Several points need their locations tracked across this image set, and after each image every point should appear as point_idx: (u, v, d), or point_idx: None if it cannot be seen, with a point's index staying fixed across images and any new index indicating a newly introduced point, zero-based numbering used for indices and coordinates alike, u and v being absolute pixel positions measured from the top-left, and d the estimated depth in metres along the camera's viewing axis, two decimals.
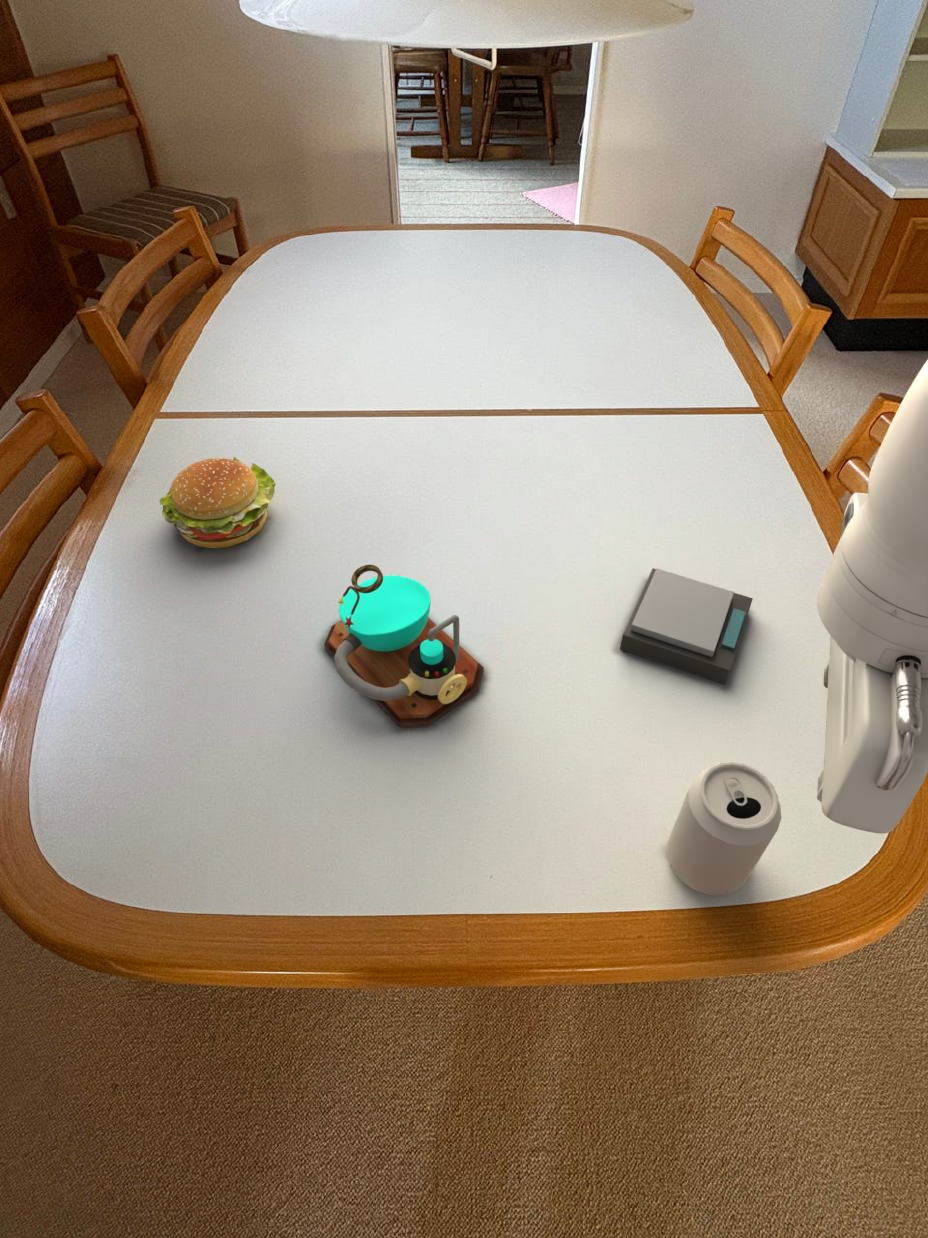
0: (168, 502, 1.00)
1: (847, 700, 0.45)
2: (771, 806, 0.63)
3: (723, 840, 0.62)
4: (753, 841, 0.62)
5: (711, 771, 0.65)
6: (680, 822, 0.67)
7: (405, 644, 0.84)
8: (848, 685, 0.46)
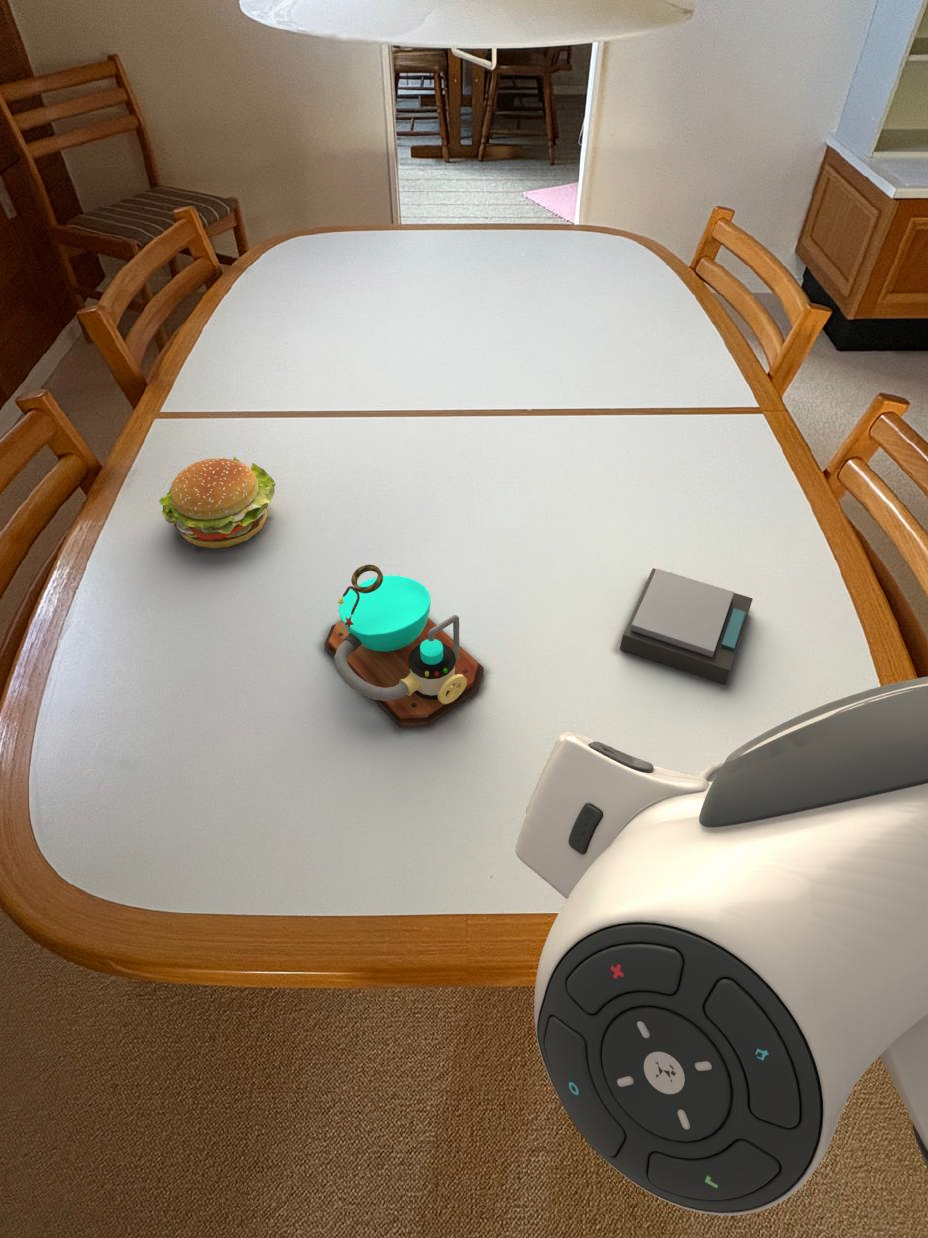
0: (168, 502, 1.00)
1: None
2: None
3: None
4: None
5: (711, 771, 0.65)
6: None
7: (405, 644, 0.84)
8: None
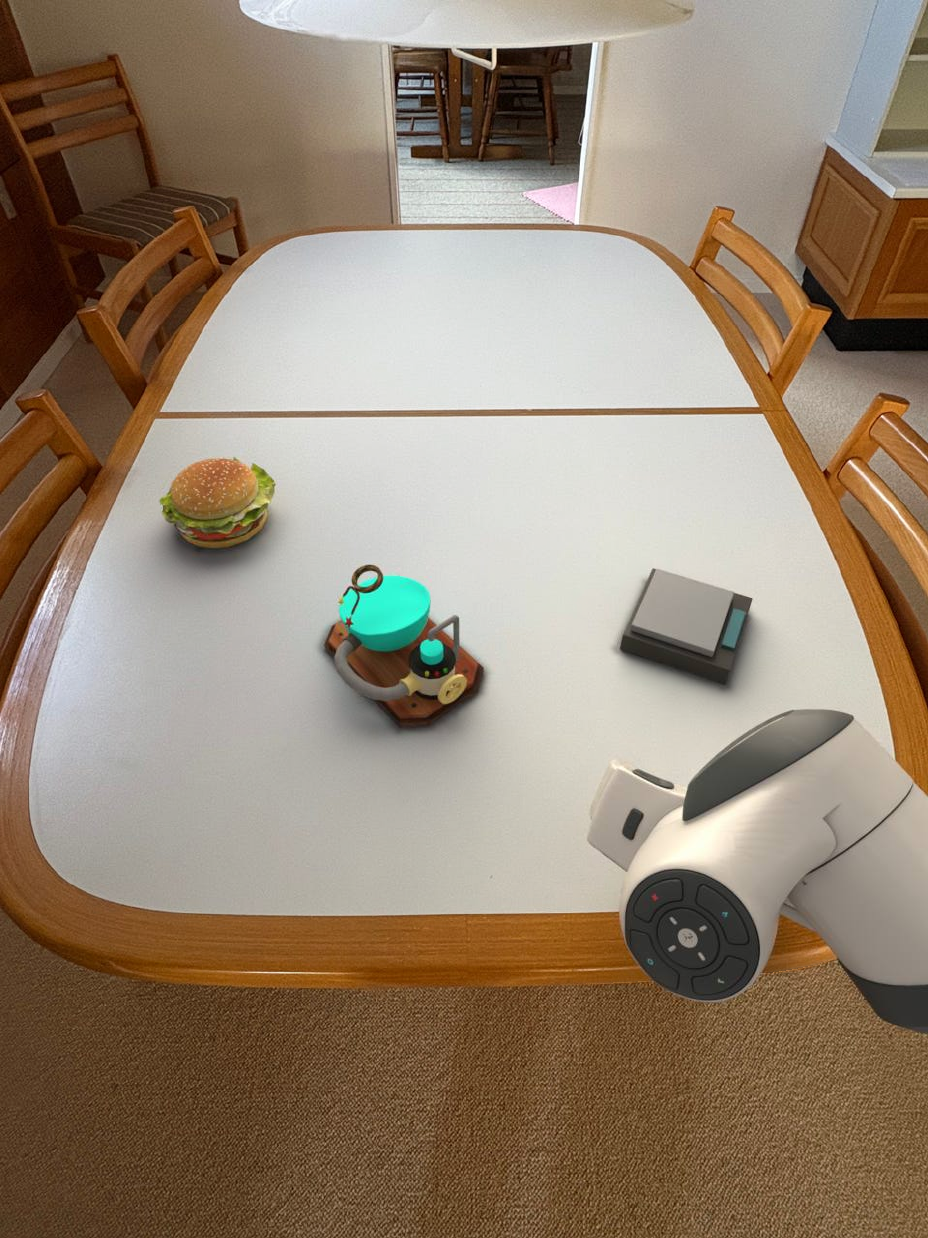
0: (168, 502, 1.00)
1: None
2: None
3: None
4: None
5: None
6: None
7: (405, 644, 0.84)
8: None
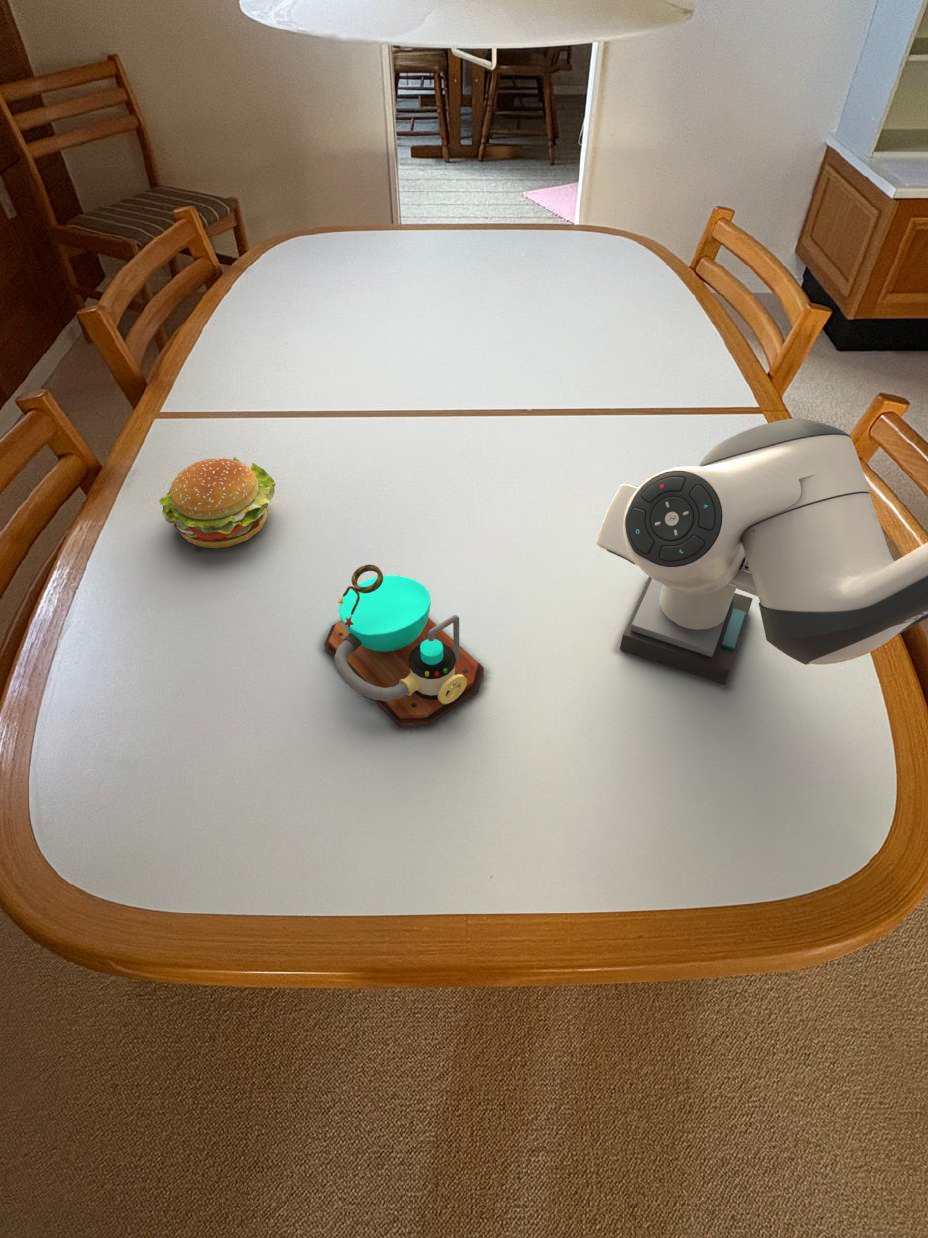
0: (168, 502, 1.00)
1: None
2: None
3: None
4: None
5: None
6: None
7: (405, 644, 0.84)
8: None
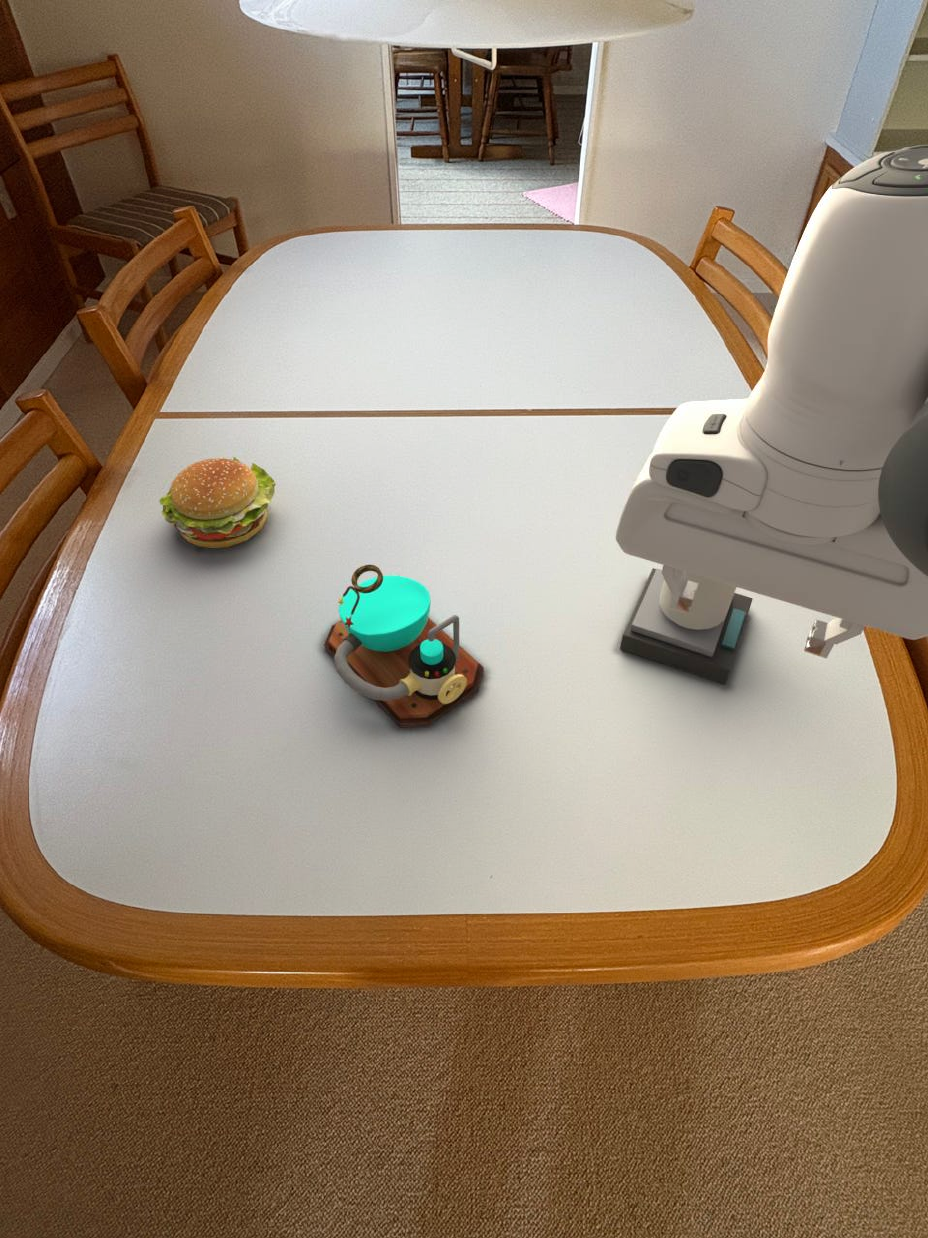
0: (168, 502, 1.00)
1: (844, 568, 0.47)
2: None
3: None
4: None
5: None
6: None
7: (405, 644, 0.84)
8: (826, 562, 0.47)
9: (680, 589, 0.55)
